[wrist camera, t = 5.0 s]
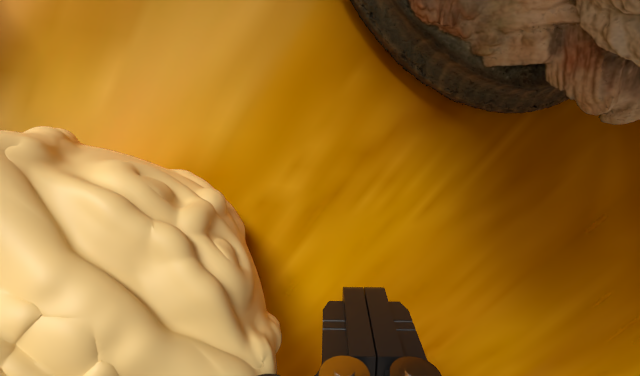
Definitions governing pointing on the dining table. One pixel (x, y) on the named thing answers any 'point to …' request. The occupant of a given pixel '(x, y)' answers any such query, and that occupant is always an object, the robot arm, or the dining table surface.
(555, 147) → the dining table surface
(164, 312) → the sculpture
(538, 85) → the brown lumpy cluster
